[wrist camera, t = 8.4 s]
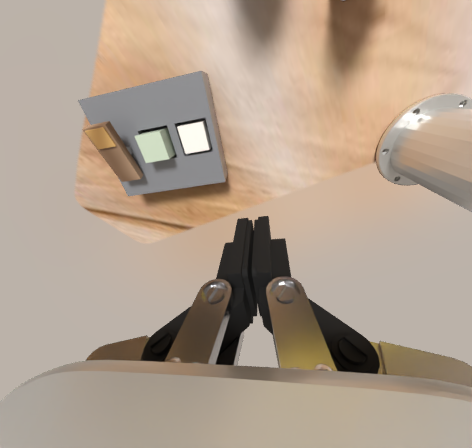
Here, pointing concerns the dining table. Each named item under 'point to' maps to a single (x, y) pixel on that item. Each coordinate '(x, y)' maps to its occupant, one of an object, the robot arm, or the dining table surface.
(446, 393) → the robot arm
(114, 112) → the console
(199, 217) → the dining table surface
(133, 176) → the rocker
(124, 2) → the dining table surface
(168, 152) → the sage button
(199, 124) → the white button
